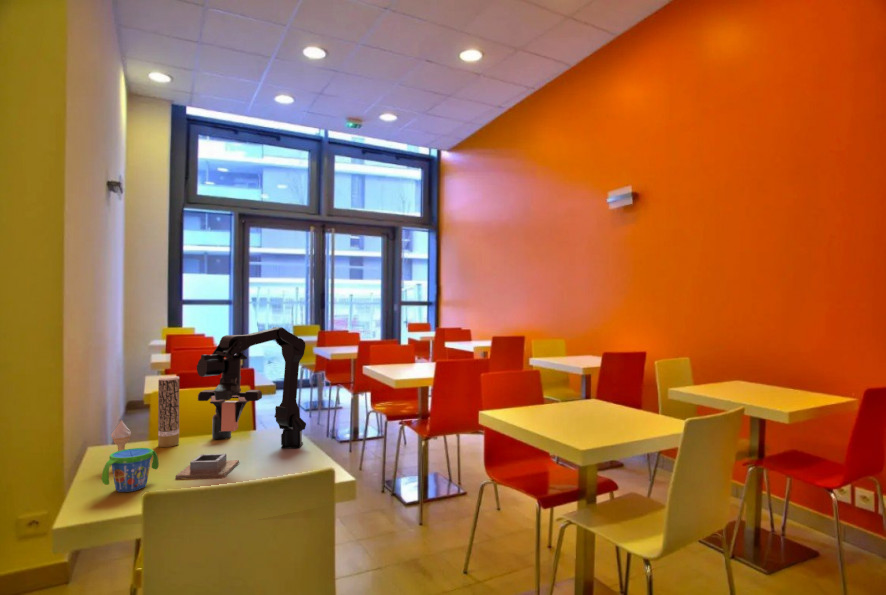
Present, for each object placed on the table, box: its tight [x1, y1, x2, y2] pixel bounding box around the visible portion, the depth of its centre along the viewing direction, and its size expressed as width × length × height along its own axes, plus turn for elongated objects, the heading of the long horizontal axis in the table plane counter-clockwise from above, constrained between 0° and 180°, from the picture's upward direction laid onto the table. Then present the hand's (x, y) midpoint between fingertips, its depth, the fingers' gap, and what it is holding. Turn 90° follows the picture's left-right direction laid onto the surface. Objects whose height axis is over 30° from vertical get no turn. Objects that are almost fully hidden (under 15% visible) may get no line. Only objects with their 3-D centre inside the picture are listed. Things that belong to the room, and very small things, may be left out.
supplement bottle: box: [211, 407, 232, 441], centre depth 198 cm, size 7×7×12 cm
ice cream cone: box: [110, 419, 132, 451], centre depth 164 cm, size 6×6×15 cm
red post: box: [221, 400, 239, 432], centre depth 166 cm, size 4×4×9 cm
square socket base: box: [175, 453, 240, 480], centre depth 159 cm, size 14×14×4 cm
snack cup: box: [101, 447, 160, 493], centre depth 144 cm, size 16×10×10 cm
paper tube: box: [157, 375, 180, 448], centre depth 188 cm, size 7×7×25 cm
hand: (229, 422), depth 166 cm, fingers closed on red post, 4 cm apart
